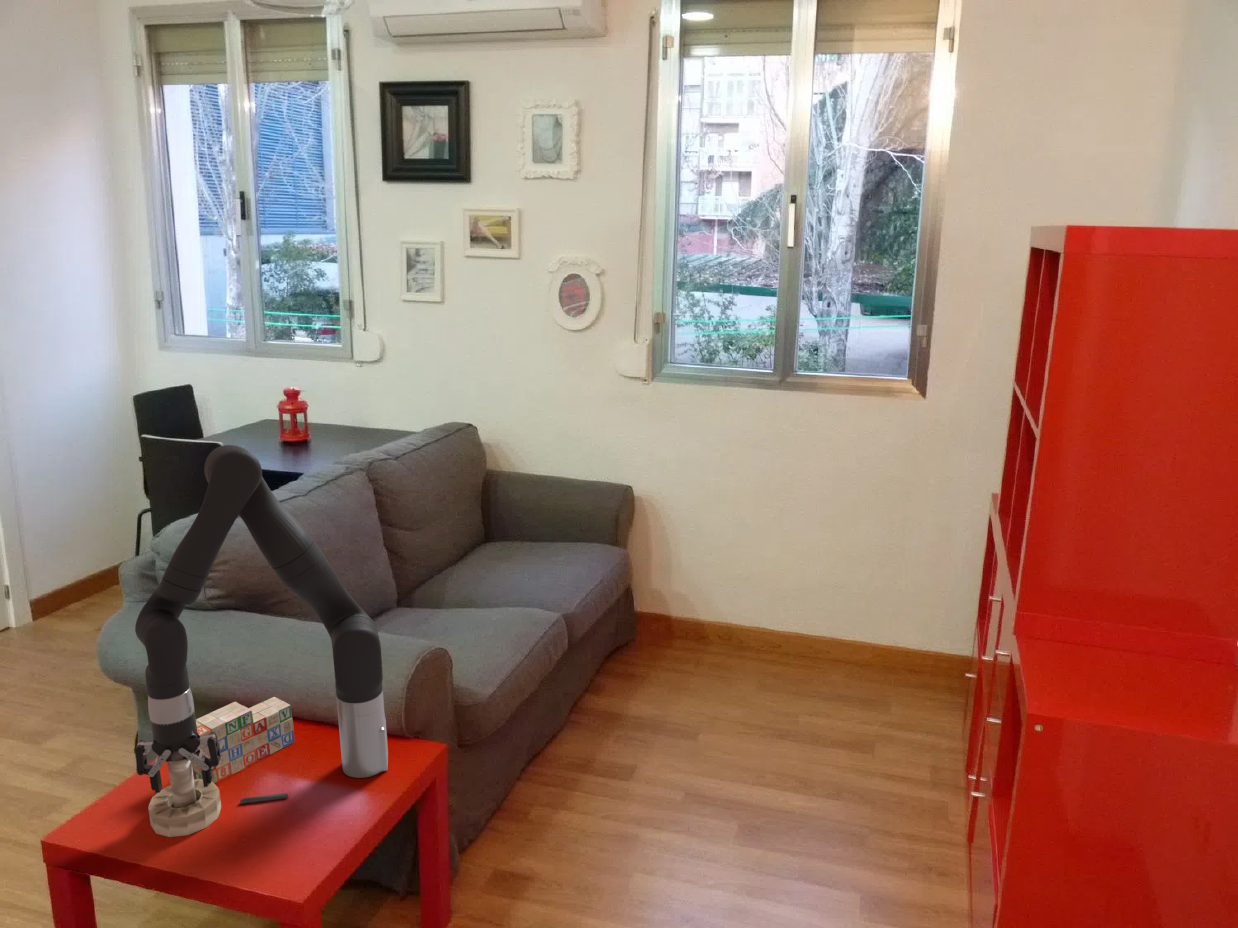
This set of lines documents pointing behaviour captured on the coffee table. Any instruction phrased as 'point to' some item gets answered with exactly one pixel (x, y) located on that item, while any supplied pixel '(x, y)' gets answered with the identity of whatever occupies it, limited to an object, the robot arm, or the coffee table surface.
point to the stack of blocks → (245, 734)
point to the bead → (184, 811)
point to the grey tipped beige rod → (181, 781)
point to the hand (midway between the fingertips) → (182, 787)
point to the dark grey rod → (264, 798)
